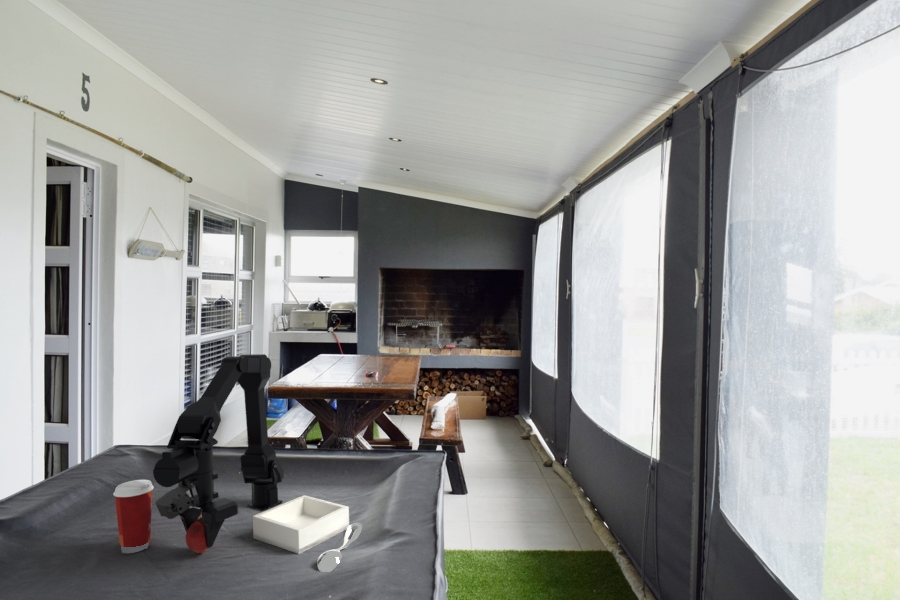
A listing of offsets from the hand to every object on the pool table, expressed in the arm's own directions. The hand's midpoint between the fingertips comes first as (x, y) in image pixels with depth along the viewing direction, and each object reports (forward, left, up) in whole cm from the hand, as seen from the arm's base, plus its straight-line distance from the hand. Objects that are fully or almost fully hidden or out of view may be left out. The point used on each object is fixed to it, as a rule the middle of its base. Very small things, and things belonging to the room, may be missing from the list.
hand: (200, 544), depth 119 cm
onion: (0, 0, -2) cm, 2 cm away
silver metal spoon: (+25, +17, -3) cm, 30 cm away
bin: (+11, +18, -2) cm, 21 cm away
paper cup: (-15, -6, -2) cm, 16 cm away
